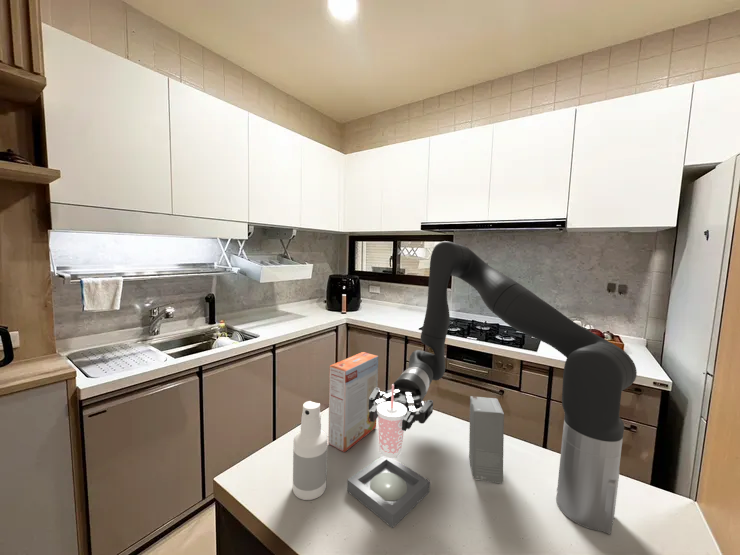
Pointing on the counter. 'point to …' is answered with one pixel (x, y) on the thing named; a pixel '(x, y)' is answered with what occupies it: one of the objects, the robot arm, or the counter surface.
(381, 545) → the counter surface
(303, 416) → the spray bottle
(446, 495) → the counter surface
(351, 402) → the cracker box
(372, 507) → the coaster tray
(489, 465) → the skincare box
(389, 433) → the beverage cup
